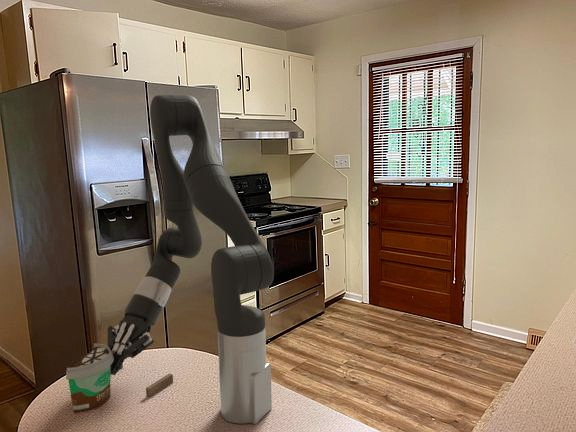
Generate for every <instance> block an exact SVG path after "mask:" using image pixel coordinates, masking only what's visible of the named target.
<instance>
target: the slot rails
mask: <svg viewBox="0 0 576 432" xmlns="http://www.w3.org/2000/svg"><path fill="white" fill-rule="evenodd" d="M123 364H124V363H123ZM123 364H122V365H121V367H120V369H119V371H120V370H122V369H124V365H123ZM111 375H112V374H110V376H111ZM173 383H174V375H173V374H172V373H167V374H166V375H164V376H163V377H161V378H159V379H158V380H157V381H155V382H153V383H152V384H150V385H148V386H146V388H145V394H146V395H145V396H146V398H148V399H151V398H152V397H154V396H155V395H157V394H159V393H160V392H162V390H163V391H164V389H166V388H168V387H170V385H173Z"/></svg>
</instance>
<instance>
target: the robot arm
mask: <svg viewBox="0 0 576 432" xmlns="http://www.w3.org/2000/svg"><path fill="white" fill-rule="evenodd" d="M149 116H150V124H151V125H150V126H151V129H152V136H153V141H154V147H155V152H156V157H157V162H158V167H159V172H160V176H161V184H162V195H163V197H162V198H163V210H164V211H163V212H164V217H165V219H166V220H167V221H169V222H171V223H173V224H175V226H177V227H168V228H166V229H164V231H162V233H161V234H160V236H159V238H158V241H157V245H156V249H155V252H154V256H153V261H152V263H151V265H150V267H149V269H148V270H147V273H146V274H145V276H144V278H143V279H142V281H141V282H140V283H139V284H138V286H137V288H136V289H135V291H134V293H133V294H132V296H131V298H130V299H129V302H128V304H127V305H126V307H125V309H124V317H123V318H122V319H121V320H119V323H118V324H117V325H115V326H113V325H109V326H108V327H107V346H108V347H109V348H110V350H111V351H112V354H113V357H114V361H113V363H112V364H111V366H110V374H111V375H112V376H115V375H116V374H117V373H118V372H119V371H120V370H121V369H120V367H121V365H122V364H124V362H125V360H127V359H129V358H131V359H133V358H136V356H138V355H140V354H141V353H142V352H143V351H145V350H146V349H147V348H149V347H150V346H151V345H153V343H154V341H155V340H154V338H152V337H151V334H150V333H151V330H152V326H155V325H156V323H157V321H158V319H159V317H160V315H161V314H162V311H163V310H164V308H165V306H166V304H167V302H168V300H169V298H170V296H171V295H170V294H171V292H172V290H173V288H174V286H175V284H176V282H177V281H178V279H179V276H180V275H181V267H180V266H179V265H178V264H177V263H175V262H174V261H173V260H172V259H173V257H174V256H175V257H180V258H185V259H193V258H196V257H197V256H198V255H199V254H200V253H201V252H200V251H201V249H202V244H203V243H202V242H203V240H202V235H201V231H200V228H199V224H198V221H197V219H196V216H195V212H194V207H195V208H196V210H197V211H198V212H199V213H200V214H201V215H203V216H204V217H205V218H206V219H208V220H209V221H210V222H212V224H215V225H216V226H217V227H218V228H219V229H221V230H222V231H223V232H224V233H225V234H226V235H227V236H228V237H229V238H230V241H232V243H233V245H234V246H233V245H232V246H227V247H226V246H225V247H222V248H218V249H216V251H214V253H213V255H212V258H211V262H210V273H211V275H210V276H211V283H212V284H211V285H212V293H213V294H212V295H213V306H214V307H213V308H214V314H215V319H216V325H217V344H218V345H217V347H218V348H217V350H218V351H217V352H218V370H219V394H220V412H221V413H220V414H221V417H222V418H223V419H225V420H226V421H227V422H230V423H233V424H254V425H256V424H257V423H259V421H261V420H262V419H263V418H264V417H265V416H266V415H267V414H268V413H269V411H271V409H272V408H273V407H272V405H273V403H272V402H273V401H272V370H271V369H272V366H271V365H272V364H271V363H270V362H267V344H266V343H267V341H266V338H267V337H266V333H267V332H266V314H265V313H264V311H263V310H261V309H260V308H258V307H256V306H252V305H247V304H242V302H241V301H242V300H241V296H242V295H246V294H251V293H256V292H258V291H262V290H265V289H267V288H269V287H270V286H271V285H272V284H273V281H274V276H275V272H274V271H275V270H274V265H273V261H272V258H271V256H270V254H269V251H268V249H267V248H266V247H267V246H266V245H265V243H264V242H263V239H262V238H261V237H260V235H259V233H258V232H257V230H256V229H255V227H254V225H253V223H252V222H251V220H250V219H249V216H248V215H247V212H246V211H245V209H244V207H243V205H242V203H241V201H240V198H239V197H238V194H237V192H236V190H235V188H234V185H233V182H232V180H231V178H230V176H229V173H228V171H227V169H226V167H225V165H224V164H223V162H222V159H221V157H220V155H219V153H218V150H217V148H216V146H215V143H214V142H213V138H212V136H211V133H210V130H209V127H208V125H207V122H206V118H205V115H204V113H203V111H202V107H201V106H200V103H199V102H198V99H196V98H195V97H194V96H192V95H188V94H160V95H159V94H157V95H155V96H154V97H152V99H151V102H150V110H149ZM171 136H172V137H173V136H174V137H175V136H188V137H189V138H190V140H191V142H192V146H191V147H192V148H191V151H190V154H189V156H188V158H187V160H186V162H185V163H186V164H185V166H184V168H183V167H182V166H181V165H180V163H179V161H178V160H177V159H176V157H175V155H174V153H173V150H172V146H171V142H170V141H171V140H170V137H171ZM119 369H120V370H119Z"/></svg>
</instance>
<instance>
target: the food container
mask: <svg viewBox="0 0 576 432" xmlns="http://www.w3.org/2000/svg"><path fill="white" fill-rule="evenodd" d="M113 361H114V357H113V354H112V351H111V350H110V348H109V347H108V345H107V344H102V343H93V348H92V350H90V352H88V353H86V354H85V355H84V356H82V357H81V358H80V359H79V360H78V362H76V364H75V365H74V366H73V367H66V372H65V373H66V374H65V380H68V386H69V392H70V398H71V404H72V410H73V411H72V412H73V414H81V413H86V412H90V411H93V410H97V409H99V408H100V407H102V406H104V405H105V404H106V403H107V402H109V400H110V398H111V375H110V366H111V364H112V363H113Z"/></svg>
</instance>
